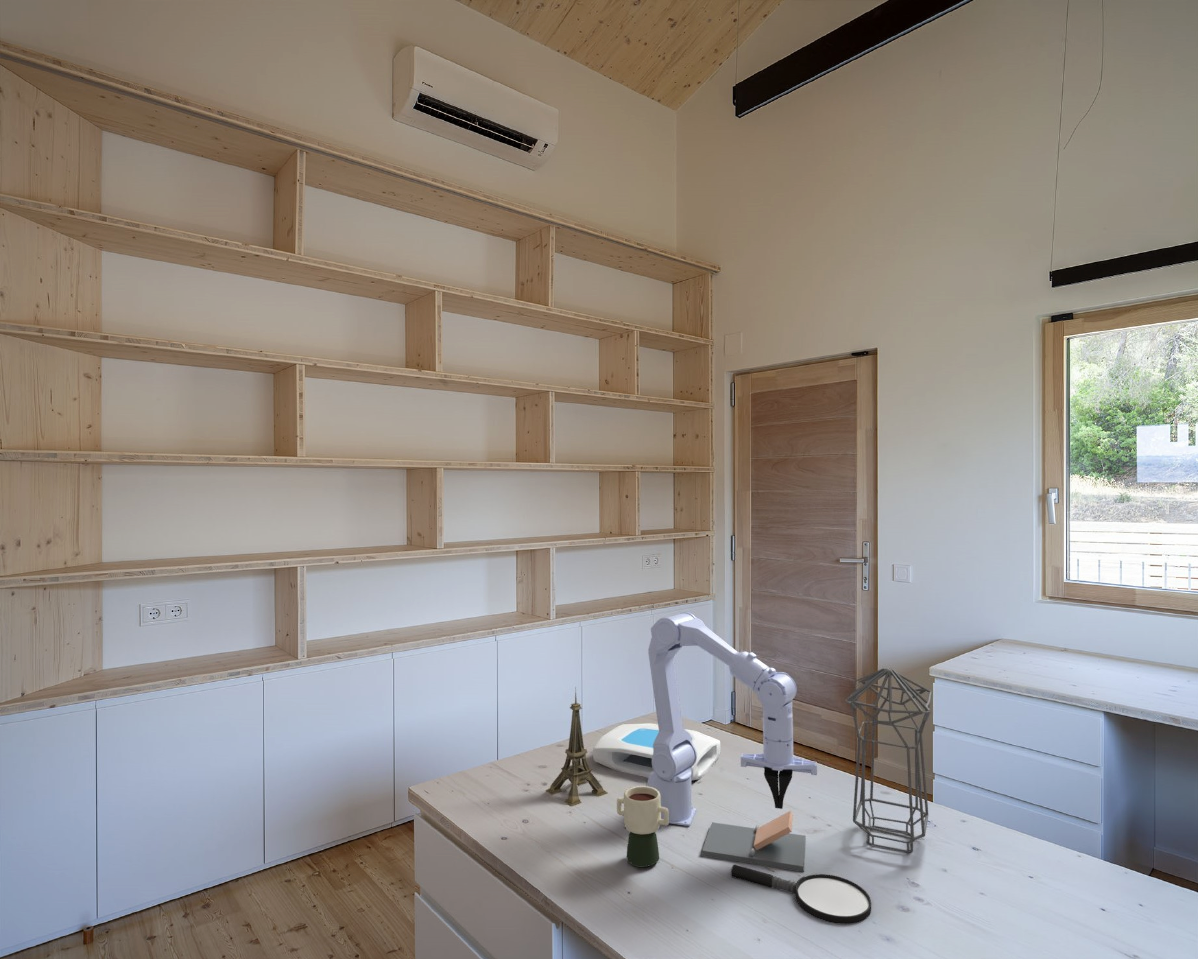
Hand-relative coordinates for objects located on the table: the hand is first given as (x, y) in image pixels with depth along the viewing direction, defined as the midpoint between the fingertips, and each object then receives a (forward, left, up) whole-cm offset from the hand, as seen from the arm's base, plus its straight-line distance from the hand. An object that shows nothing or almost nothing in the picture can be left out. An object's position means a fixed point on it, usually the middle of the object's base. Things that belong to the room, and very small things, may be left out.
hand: (779, 806), depth 134 cm
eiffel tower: (-48, +13, -9) cm, 51 cm away
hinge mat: (-5, 0, -9) cm, 10 cm away
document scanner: (-34, +37, -9) cm, 51 cm away
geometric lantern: (+21, +10, -9) cm, 25 cm away
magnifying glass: (+4, -13, -10) cm, 17 cm away
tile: (-1, 0, -4) cm, 5 cm away
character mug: (-25, -12, -9) cm, 29 cm away
